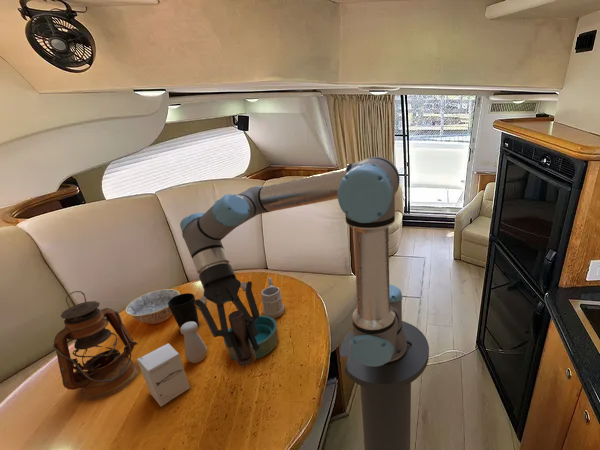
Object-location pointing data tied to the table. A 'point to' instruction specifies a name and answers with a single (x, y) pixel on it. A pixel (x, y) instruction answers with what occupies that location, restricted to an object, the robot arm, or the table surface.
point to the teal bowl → (261, 337)
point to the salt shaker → (193, 343)
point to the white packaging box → (164, 373)
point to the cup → (184, 309)
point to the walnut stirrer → (242, 338)
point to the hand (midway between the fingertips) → (248, 354)
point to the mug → (272, 301)
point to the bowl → (152, 306)
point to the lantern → (102, 367)
